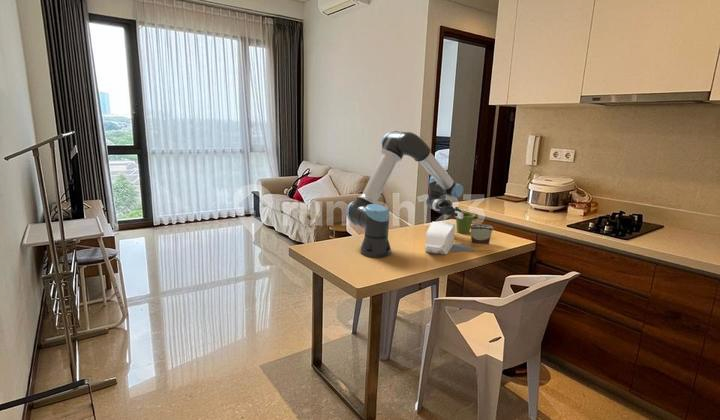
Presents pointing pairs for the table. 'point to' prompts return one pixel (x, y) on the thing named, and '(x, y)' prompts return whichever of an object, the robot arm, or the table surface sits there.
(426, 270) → the table surface
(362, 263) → the table surface
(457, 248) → the mat
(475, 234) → the food container
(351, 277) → the table surface
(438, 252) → the milk
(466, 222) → the plant pot
